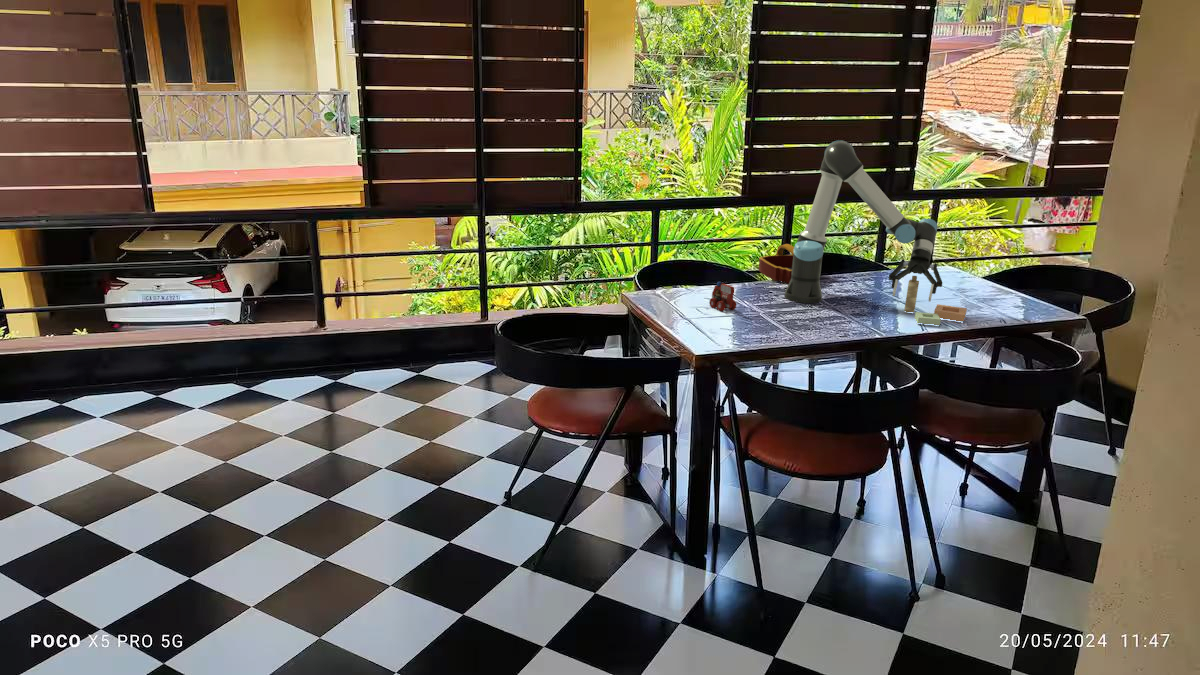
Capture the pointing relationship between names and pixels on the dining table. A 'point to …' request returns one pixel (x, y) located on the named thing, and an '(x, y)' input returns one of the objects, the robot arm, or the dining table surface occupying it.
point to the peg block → (911, 294)
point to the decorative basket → (778, 264)
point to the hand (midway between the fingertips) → (911, 297)
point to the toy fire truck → (722, 297)
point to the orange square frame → (950, 312)
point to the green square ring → (927, 318)
